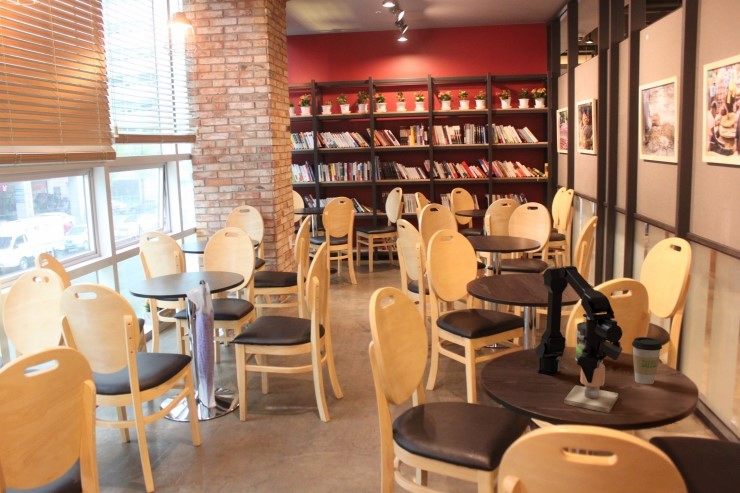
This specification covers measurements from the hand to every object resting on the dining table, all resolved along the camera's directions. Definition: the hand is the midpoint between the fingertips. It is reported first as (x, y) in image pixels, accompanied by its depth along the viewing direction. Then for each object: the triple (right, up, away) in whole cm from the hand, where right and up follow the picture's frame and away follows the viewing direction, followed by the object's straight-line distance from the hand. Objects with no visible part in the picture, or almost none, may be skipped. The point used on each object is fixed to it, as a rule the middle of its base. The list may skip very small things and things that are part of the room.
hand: (592, 379), depth 211 cm
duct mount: (0, -7, +1) cm, 8 cm away
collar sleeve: (0, -1, 0) cm, 1 cm away
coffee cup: (+25, -5, +18) cm, 30 cm away
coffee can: (+12, -1, +39) cm, 41 cm away
